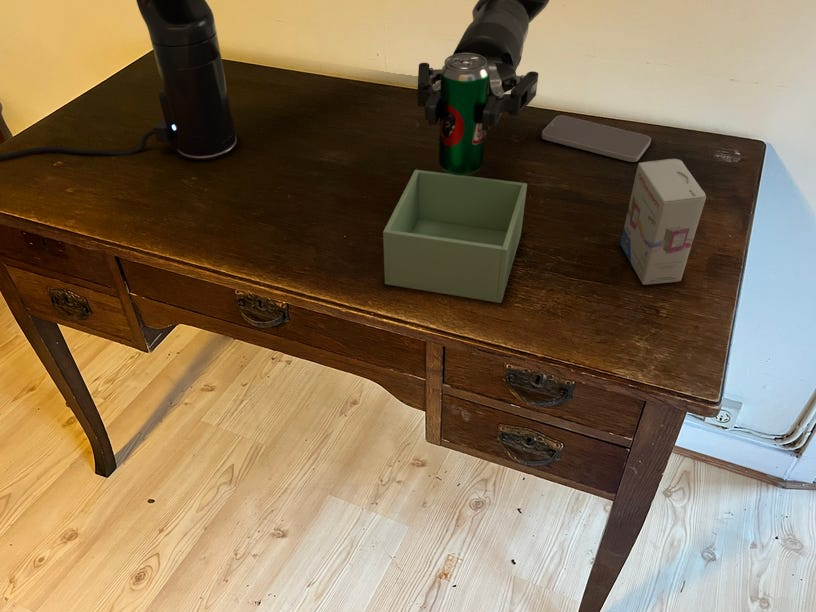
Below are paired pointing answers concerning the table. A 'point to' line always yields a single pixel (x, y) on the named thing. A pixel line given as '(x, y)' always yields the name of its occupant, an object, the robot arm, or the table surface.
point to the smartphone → (597, 138)
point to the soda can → (463, 113)
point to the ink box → (662, 220)
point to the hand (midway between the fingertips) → (458, 119)
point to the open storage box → (454, 235)
